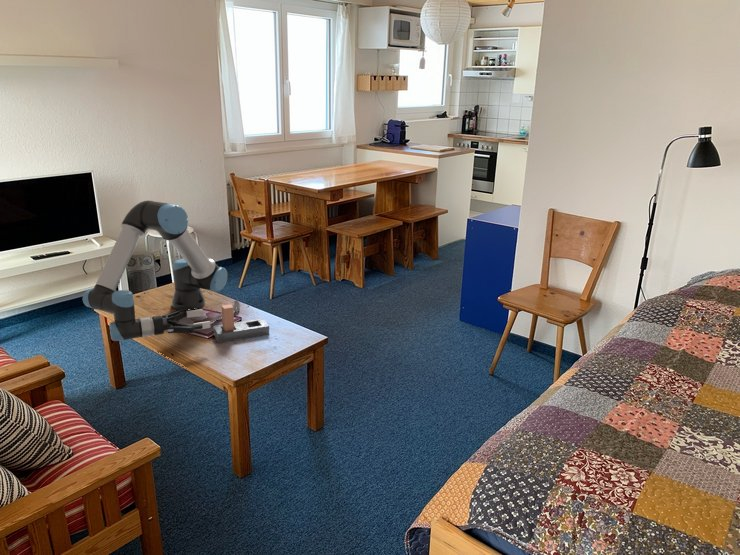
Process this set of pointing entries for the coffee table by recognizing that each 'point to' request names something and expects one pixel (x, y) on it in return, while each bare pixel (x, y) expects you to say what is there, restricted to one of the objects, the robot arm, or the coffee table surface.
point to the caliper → (235, 304)
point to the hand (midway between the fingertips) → (206, 318)
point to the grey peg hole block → (242, 330)
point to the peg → (227, 317)
